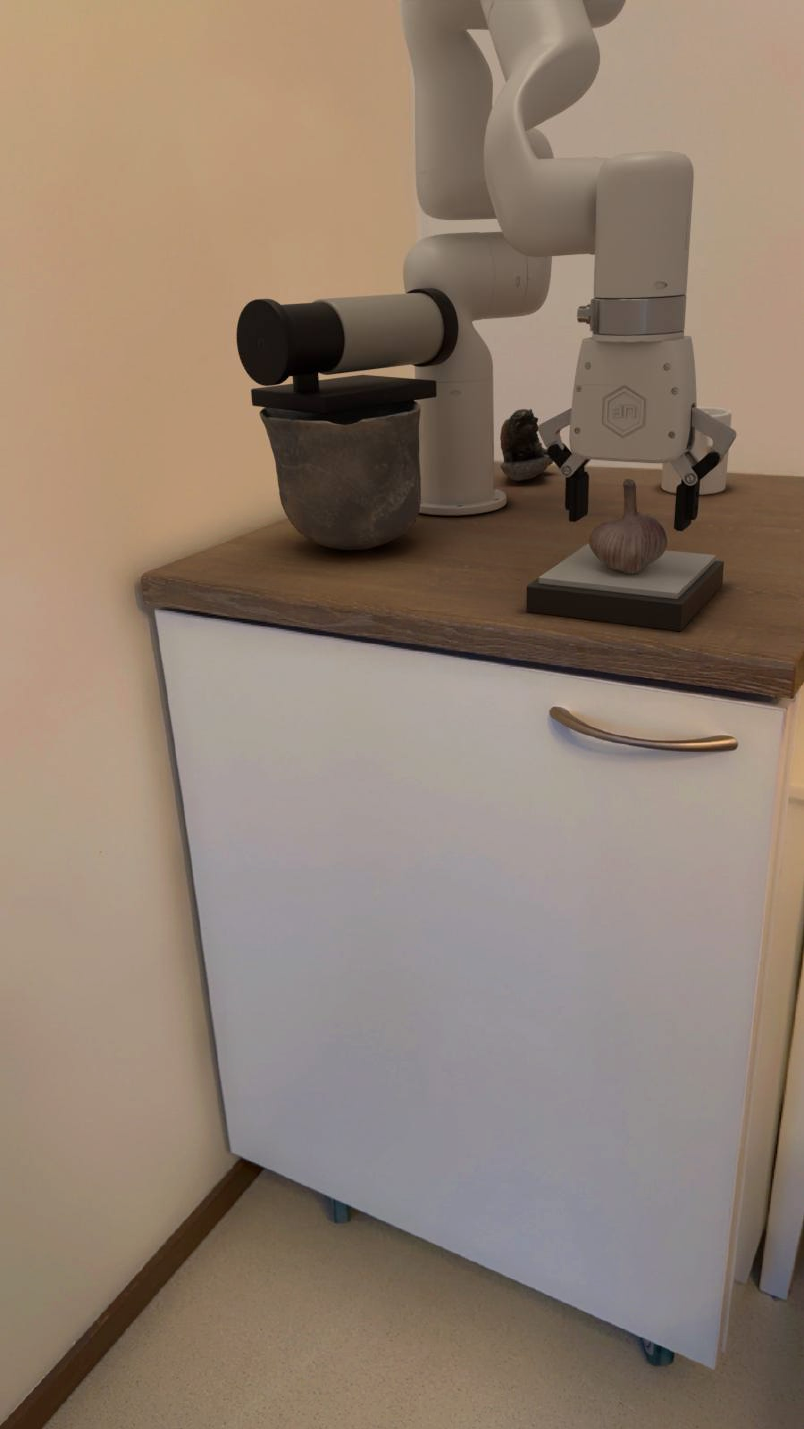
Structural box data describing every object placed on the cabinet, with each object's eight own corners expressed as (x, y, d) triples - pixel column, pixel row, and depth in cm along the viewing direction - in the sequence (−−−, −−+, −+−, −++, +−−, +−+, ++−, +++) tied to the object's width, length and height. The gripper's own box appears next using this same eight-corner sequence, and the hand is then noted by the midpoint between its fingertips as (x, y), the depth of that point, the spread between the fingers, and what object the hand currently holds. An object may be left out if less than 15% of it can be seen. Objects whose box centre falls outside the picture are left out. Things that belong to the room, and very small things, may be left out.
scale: (526, 611, 96) (526, 579, 95) (581, 570, 107) (582, 541, 106) (680, 631, 90) (682, 597, 89) (722, 585, 101) (724, 554, 100)
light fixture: (221, 298, 109) (393, 288, 125) (230, 409, 113) (396, 385, 129) (297, 298, 101) (471, 288, 117) (304, 418, 105) (471, 392, 121)
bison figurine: (507, 470, 156) (507, 399, 152) (556, 470, 154) (557, 398, 150) (496, 488, 145) (496, 411, 141) (548, 488, 143) (549, 410, 139)
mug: (675, 503, 132) (680, 421, 128) (656, 483, 143) (660, 407, 139) (740, 500, 132) (747, 419, 128) (716, 481, 143) (722, 405, 139)
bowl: (239, 560, 116) (224, 418, 110) (311, 521, 131) (301, 394, 125) (391, 570, 110) (384, 420, 104) (448, 529, 124) (445, 395, 118)
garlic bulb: (638, 583, 93) (642, 491, 89) (568, 569, 97) (570, 481, 94) (682, 563, 98) (688, 475, 94) (614, 551, 102) (617, 467, 99)
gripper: (524, 324, 90) (523, 524, 97) (733, 323, 82) (715, 542, 89) (557, 317, 96) (554, 506, 103) (755, 315, 88) (737, 521, 95)
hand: (629, 523), depth 96 cm, fingers open, 9 cm apart
